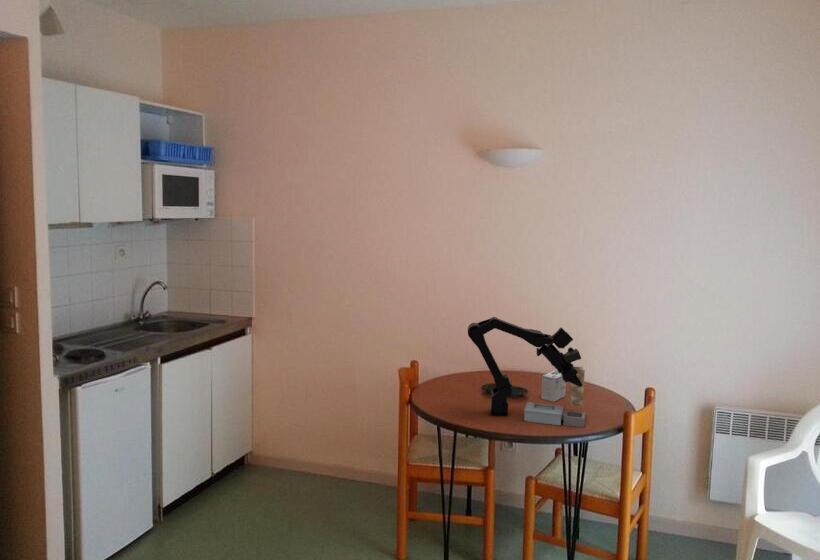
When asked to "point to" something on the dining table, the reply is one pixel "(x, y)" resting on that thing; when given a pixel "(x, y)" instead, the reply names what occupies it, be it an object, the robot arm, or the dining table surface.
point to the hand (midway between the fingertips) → (580, 384)
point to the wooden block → (577, 389)
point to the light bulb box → (553, 386)
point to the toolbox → (552, 415)
